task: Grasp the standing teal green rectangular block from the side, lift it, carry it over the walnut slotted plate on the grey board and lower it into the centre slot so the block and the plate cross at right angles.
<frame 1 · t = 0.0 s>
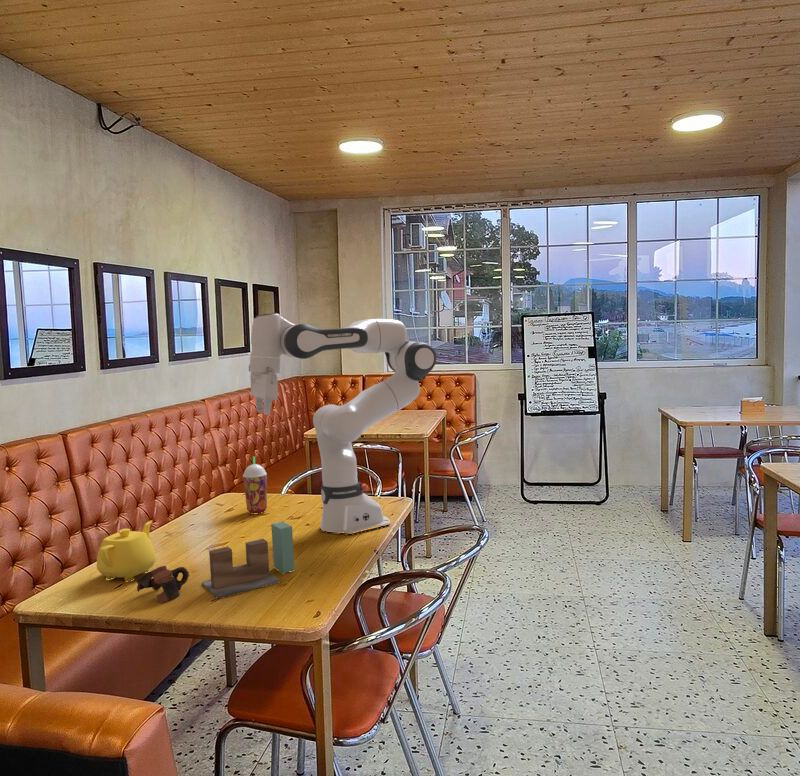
hand: (263, 413, 195), 39 cm above the table, tool pointing down, fingers open, 8 cm apart
teapot: (129, 575, 173), on the table
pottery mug: (164, 596, 157), on the table
teal green rectangular block: (284, 569, 172), on the table
smoothie: (257, 512, 230), on the table
walnut slotted plate: (241, 583, 163), on the table
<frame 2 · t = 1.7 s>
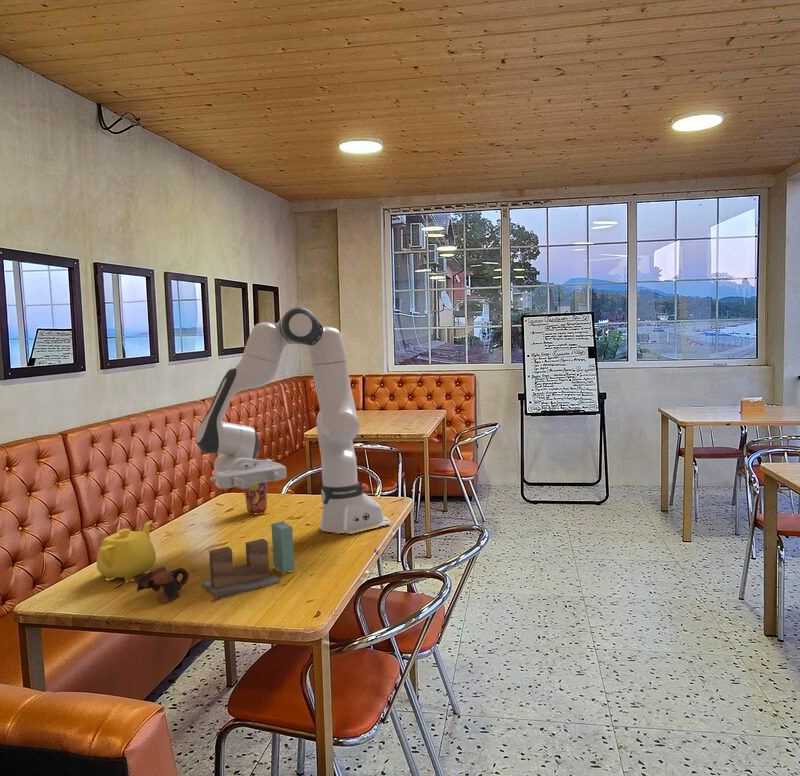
hand: (261, 480, 180), 22 cm above the table, tool horizontal, fingers open, 8 cm apart
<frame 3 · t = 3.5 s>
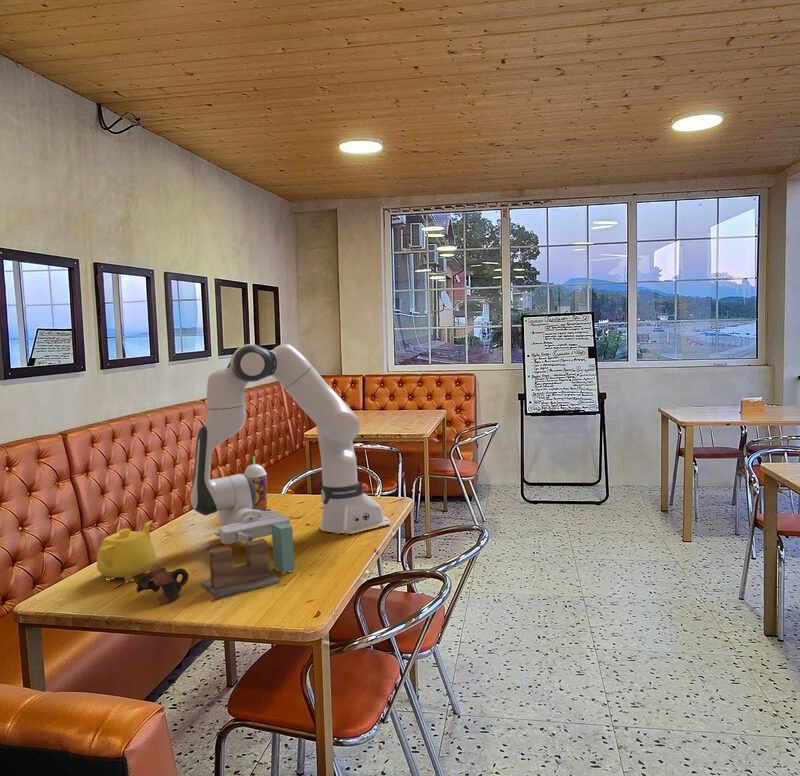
hand: (265, 535, 180), 7 cm above the table, tool horizontal, fingers open, 8 cm apart
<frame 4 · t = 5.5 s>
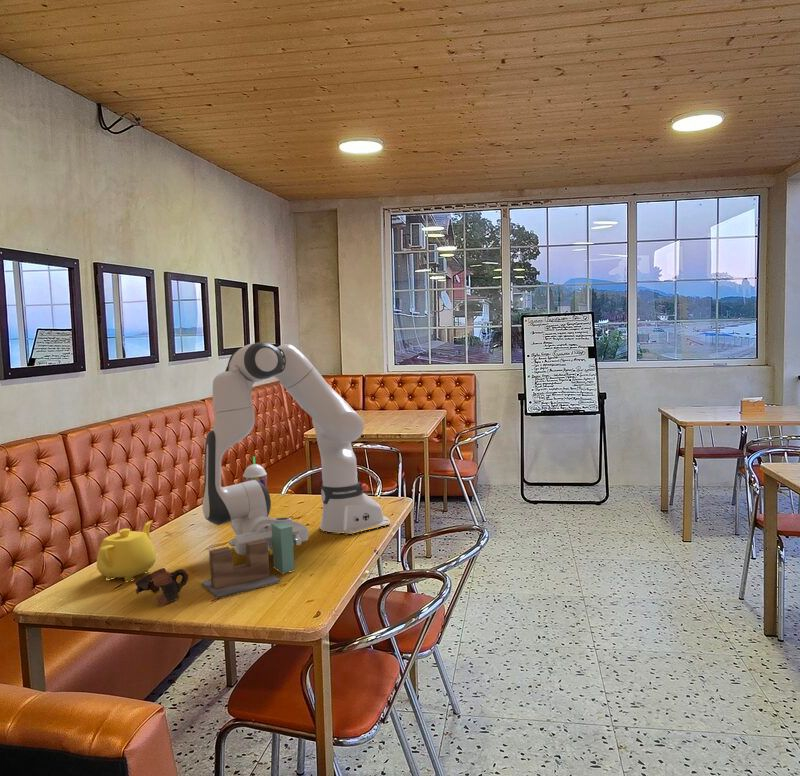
hand: (282, 545, 171), 7 cm above the table, tool horizontal, fingers open, 8 cm apart
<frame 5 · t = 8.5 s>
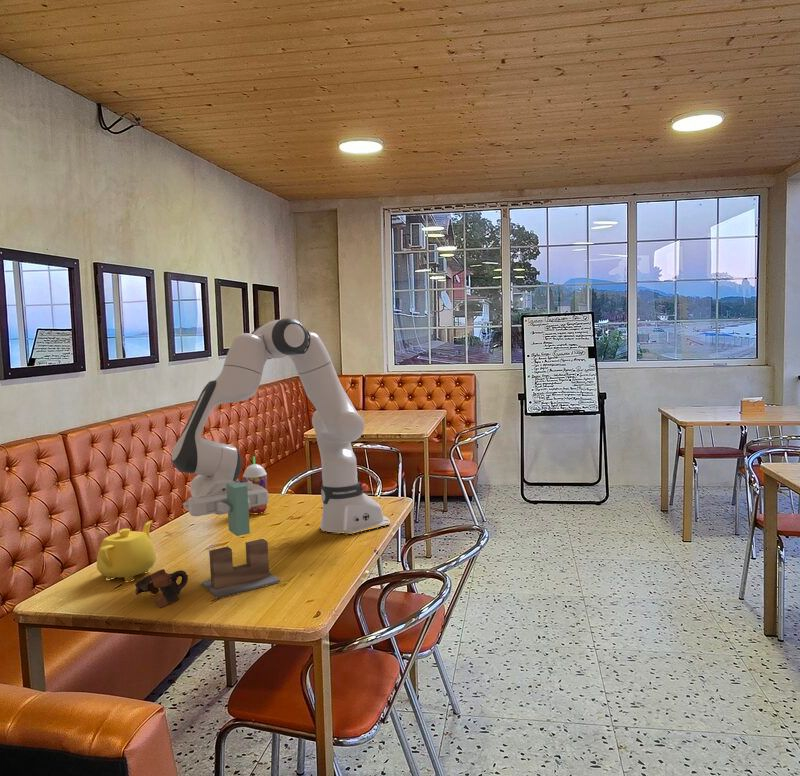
hand: (238, 507, 161), 20 cm above the table, tool horizontal, fingers closed on teal green rectangular block, 3 cm apart
teal green rectangular block: (239, 531, 162), point 13 cm above the table, touching gripper
when the fingers open (12 cm above the table, at t = 10.6 s): teal green rectangular block drops 1 cm, resting on walnut slotted plate.
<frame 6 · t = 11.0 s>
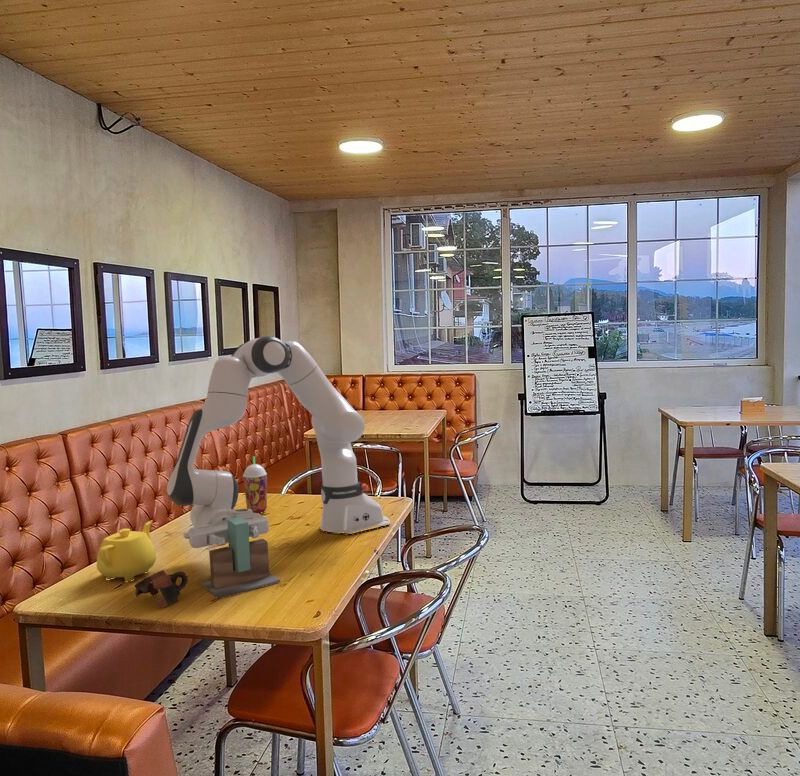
hand: (239, 538, 161), 12 cm above the table, tool horizontal, fingers open, 7 cm apart
teal green rectangular block: (240, 567, 163), point 4 cm above the table, touching walnut slotted plate
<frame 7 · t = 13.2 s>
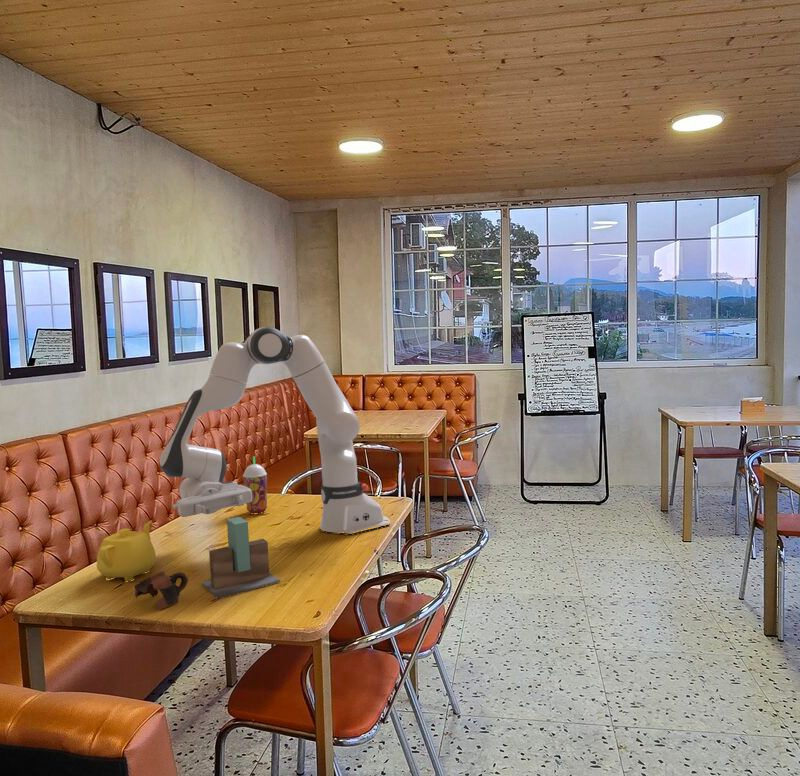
hand: (224, 506, 174), 17 cm above the table, tool horizontal, fingers open, 8 cm apart
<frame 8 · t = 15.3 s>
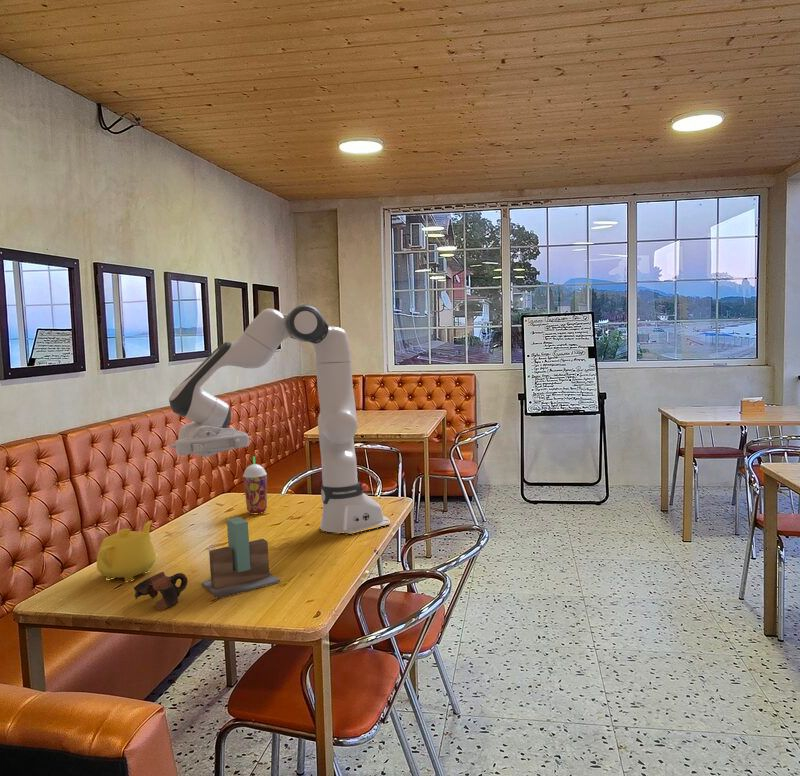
hand: (221, 446, 178), 32 cm above the table, tool horizontal, fingers open, 8 cm apart
at the end: teal green rectangular block 0.0 cm off-centre on the walnut slotted plate, point 4.1 cm above the walnut slotted plate's base; teal green rectangular block tilted 0°; the gripper is holding nothing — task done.
